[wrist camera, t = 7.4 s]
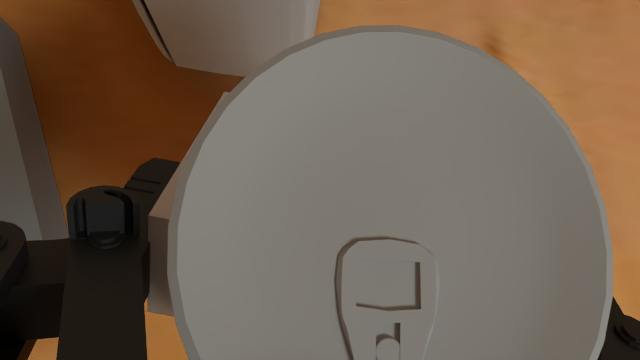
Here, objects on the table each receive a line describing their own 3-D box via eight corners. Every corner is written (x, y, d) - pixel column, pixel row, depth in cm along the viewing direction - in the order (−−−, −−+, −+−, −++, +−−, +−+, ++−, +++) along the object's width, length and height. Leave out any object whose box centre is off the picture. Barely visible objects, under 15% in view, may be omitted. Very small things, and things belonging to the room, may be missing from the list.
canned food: (250, 407, 18) (209, 578, 7) (209, 188, 19) (125, 57, 9) (455, 354, 19) (692, 433, 8) (400, 150, 20) (537, -11, 10)
